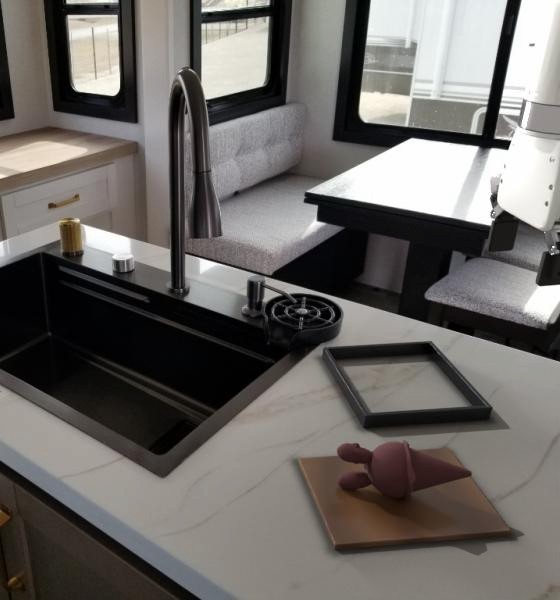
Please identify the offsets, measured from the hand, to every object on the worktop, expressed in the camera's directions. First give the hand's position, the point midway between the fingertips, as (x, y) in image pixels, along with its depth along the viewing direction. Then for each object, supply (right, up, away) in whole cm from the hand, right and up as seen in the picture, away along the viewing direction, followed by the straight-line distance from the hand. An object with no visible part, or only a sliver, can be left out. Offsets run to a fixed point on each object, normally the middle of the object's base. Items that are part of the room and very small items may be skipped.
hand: (523, 266), depth 75 cm
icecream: (-14, -27, +2) cm, 30 cm away
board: (-14, -28, +2) cm, 31 cm away
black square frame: (-6, -17, +22) cm, 29 cm away
